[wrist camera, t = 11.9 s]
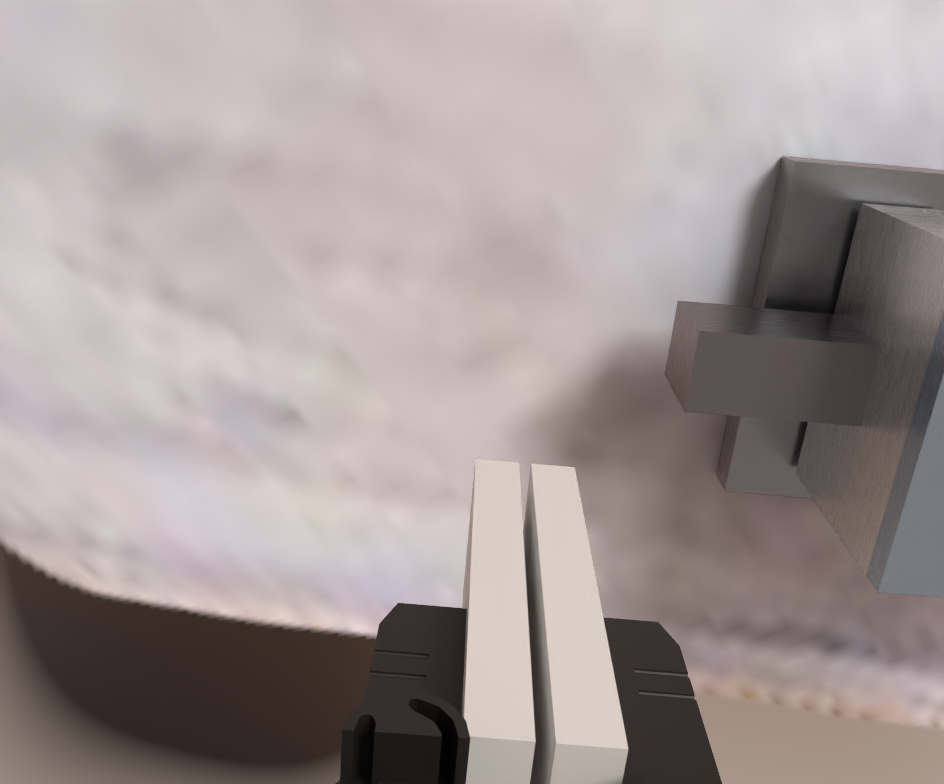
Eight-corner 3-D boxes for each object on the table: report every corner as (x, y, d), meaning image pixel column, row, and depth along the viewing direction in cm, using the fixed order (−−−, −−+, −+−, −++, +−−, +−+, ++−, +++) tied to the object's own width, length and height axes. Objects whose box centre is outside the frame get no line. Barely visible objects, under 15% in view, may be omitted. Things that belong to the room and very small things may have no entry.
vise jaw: (646, 461, 29) (688, 576, 23) (693, 188, 26) (757, 234, 20) (866, 480, 29) (969, 600, 23) (941, 210, 26) (1085, 263, 20)
